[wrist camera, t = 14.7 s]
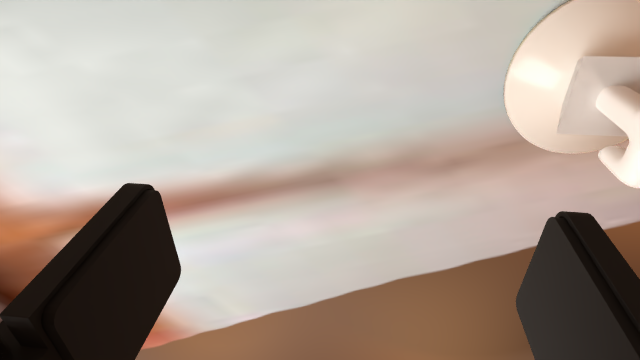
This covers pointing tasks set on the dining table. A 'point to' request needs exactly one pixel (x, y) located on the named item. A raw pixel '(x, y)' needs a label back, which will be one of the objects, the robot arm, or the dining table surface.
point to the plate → (566, 67)
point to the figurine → (607, 110)
